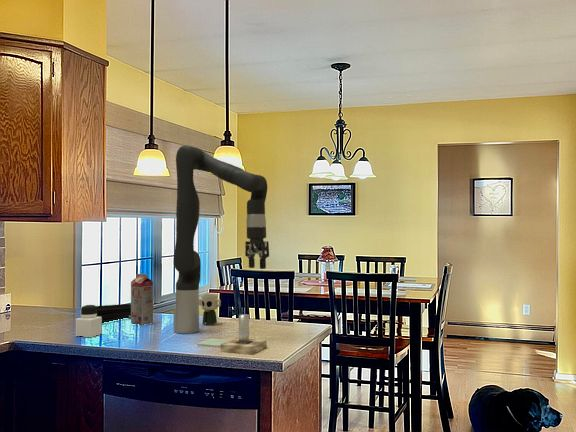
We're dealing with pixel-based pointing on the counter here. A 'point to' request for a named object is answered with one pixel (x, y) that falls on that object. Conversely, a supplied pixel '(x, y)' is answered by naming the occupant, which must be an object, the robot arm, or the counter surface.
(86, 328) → the medicine bottle
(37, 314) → the counter surface
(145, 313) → the juice carton
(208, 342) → the mat
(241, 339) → the peg
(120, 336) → the counter surface
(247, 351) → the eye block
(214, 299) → the big headed toy figurine
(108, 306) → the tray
